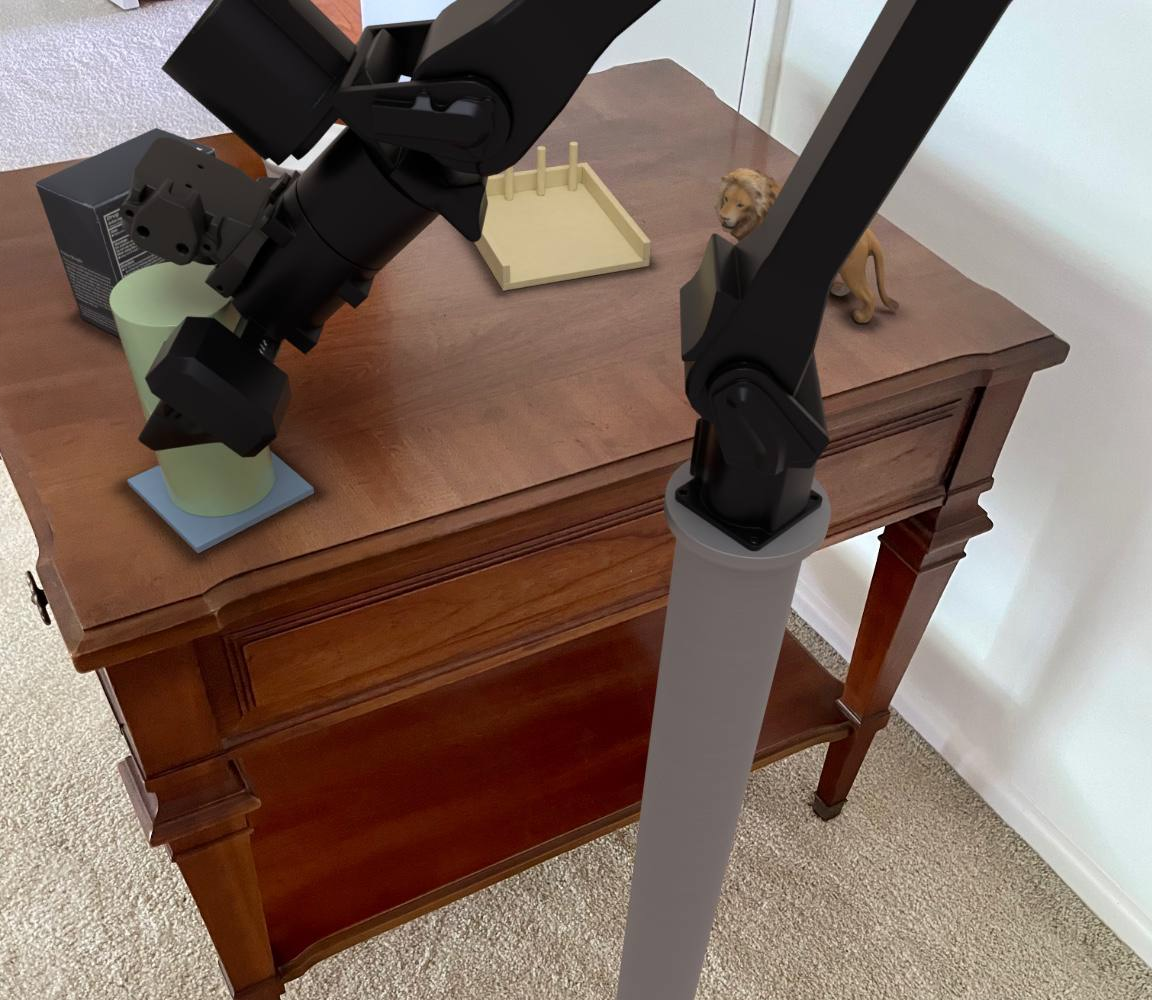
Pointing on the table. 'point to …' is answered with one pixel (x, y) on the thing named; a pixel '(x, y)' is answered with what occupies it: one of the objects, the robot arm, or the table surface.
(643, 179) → the table surface
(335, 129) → the ramekin
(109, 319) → the small box
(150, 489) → the mat
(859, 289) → the lion figurine
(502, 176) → the dish rack
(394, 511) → the table surface
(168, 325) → the pale green cylinder
